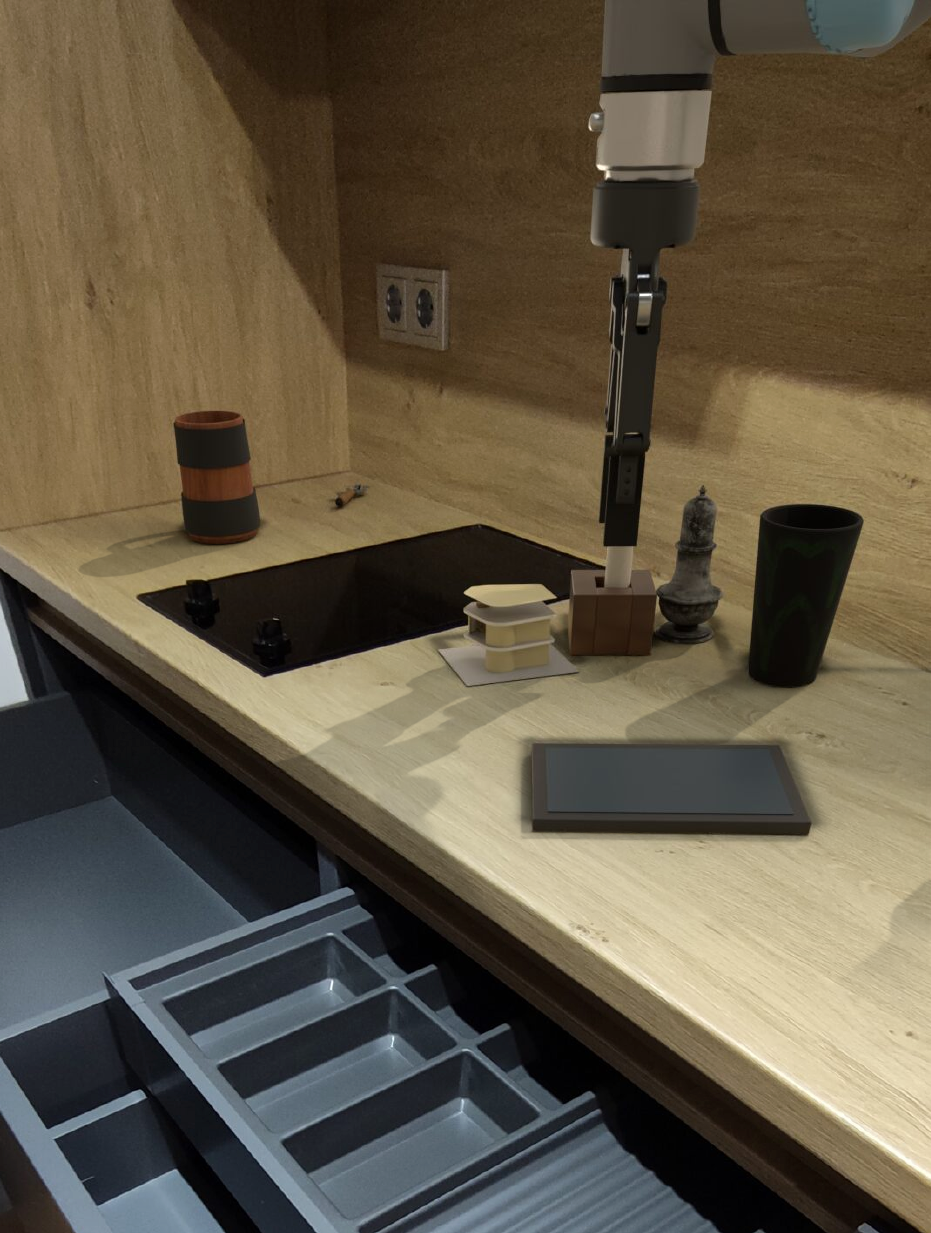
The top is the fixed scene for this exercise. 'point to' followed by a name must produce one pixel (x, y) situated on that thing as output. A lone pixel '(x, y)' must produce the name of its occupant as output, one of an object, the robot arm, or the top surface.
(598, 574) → the holder
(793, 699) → the top surface
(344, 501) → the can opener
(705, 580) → the salt shaker
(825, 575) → the cup
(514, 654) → the stacked layers on plate
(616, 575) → the stylus
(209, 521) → the mug
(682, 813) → the tablet
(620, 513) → the robot arm
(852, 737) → the top surface
